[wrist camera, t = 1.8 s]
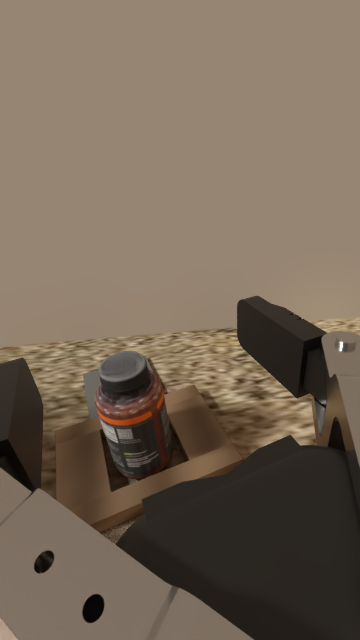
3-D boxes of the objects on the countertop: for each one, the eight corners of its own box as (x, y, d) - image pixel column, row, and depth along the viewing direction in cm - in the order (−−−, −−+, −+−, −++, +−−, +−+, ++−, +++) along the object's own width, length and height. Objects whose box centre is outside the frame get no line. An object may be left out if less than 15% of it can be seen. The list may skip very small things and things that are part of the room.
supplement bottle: (159, 422, 33) (145, 336, 28) (183, 464, 28) (171, 370, 23) (107, 444, 31) (80, 357, 26) (123, 494, 26) (94, 399, 21)
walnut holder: (62, 549, 23) (56, 539, 22) (59, 440, 32) (55, 431, 31) (242, 469, 27) (242, 459, 27) (194, 394, 37) (194, 384, 36)
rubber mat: (91, 423, 34) (89, 419, 34) (83, 376, 41) (83, 374, 41) (165, 397, 36) (164, 394, 36) (146, 358, 44) (145, 355, 44)
